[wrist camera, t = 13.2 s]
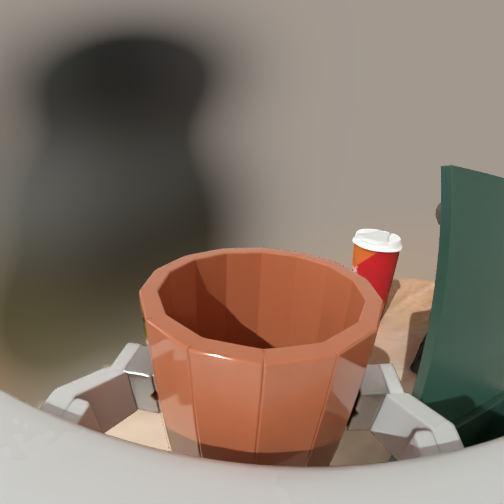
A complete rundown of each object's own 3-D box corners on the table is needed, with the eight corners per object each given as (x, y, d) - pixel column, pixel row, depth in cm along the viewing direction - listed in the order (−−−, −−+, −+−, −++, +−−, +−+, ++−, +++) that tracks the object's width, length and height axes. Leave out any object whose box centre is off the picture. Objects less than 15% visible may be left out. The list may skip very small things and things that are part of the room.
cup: (342, 507, 9) (433, 334, 6) (182, 534, 8) (119, 371, 5) (298, 410, 15) (325, 245, 12) (174, 423, 13) (150, 249, 10)
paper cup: (353, 302, 52) (366, 225, 48) (392, 317, 47) (409, 236, 43) (331, 319, 47) (343, 233, 42) (373, 337, 42) (393, 246, 37)
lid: (546, 191, 14) (504, 188, 19) (451, 165, 12) (397, 169, 17) (510, 386, 17) (478, 366, 22) (404, 443, 15) (371, 406, 19)
